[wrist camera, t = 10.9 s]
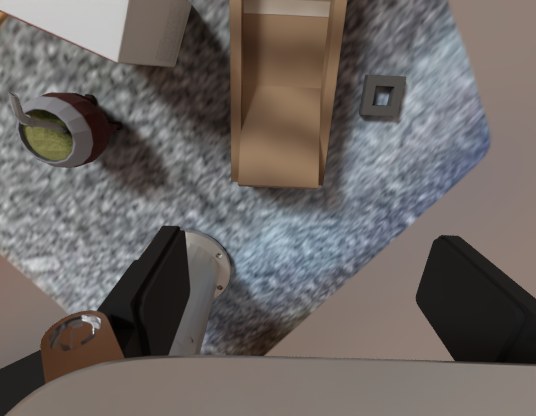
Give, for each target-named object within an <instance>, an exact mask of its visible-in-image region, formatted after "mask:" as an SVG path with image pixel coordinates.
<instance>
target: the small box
mask: <svg viewBox="0 0 536 416" xmlns="http://www.w3.org/2000/svg"><path fill="white" fill-rule="evenodd" d="M191 5H192V4H191V3H190V2H189V1H188V0H0V12H2V13H5V14H7V15H9V16H11V17H14V18H16V19H18V20H20V21H22V22H25V23H27V24H29V25H31V26H34V27H36V28H38V29H40V30H43V31H45V32H47V33H49V34H52V35H54V36H56V37H59V38H61V39H63V40H65V41H67V42H70V43H72V44H74V45H77V46H79V47H81V48H83V49H86V50H88V51H90V52H93V53H95V54H97V55H99V56H101V57H104V58H106V59H108V60H111V61H113V62H115V63H127V64H139V65H152V66H164V67H175V66H176V62H177V58H178V54H179V50H180V47H181V43H182V39H183V36H184V32H185V28H186V24H187V21H188V17H189V13H190V10H191Z"/></svg>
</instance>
